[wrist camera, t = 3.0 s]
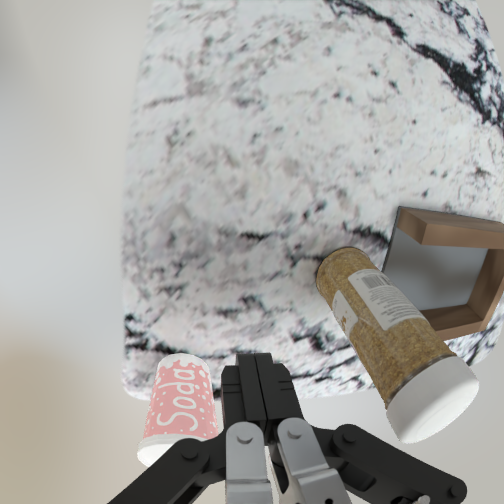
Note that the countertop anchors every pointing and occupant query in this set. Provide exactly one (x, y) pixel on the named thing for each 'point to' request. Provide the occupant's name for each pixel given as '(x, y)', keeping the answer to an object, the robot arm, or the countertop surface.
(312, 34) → the countertop surface
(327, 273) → the sprinkles bottle
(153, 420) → the beverage cup
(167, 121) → the countertop surface
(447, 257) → the u rest
